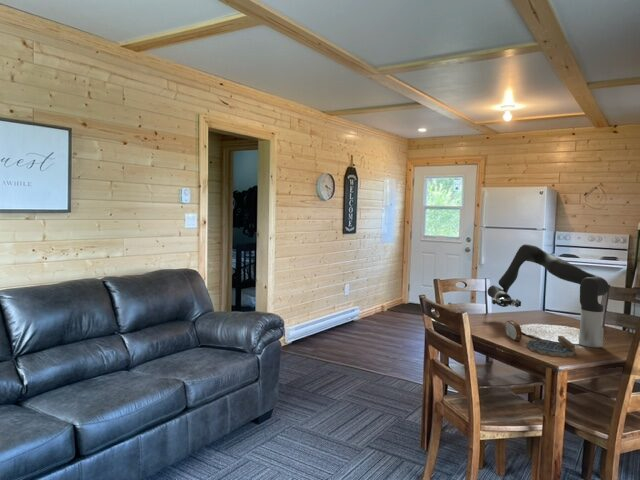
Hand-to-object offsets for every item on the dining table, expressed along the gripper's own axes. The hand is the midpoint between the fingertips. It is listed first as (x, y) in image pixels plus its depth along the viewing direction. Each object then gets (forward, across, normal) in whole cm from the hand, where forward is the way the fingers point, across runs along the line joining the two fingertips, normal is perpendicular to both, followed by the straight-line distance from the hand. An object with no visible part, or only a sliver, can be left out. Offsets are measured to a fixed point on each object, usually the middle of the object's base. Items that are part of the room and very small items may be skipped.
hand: (509, 304), depth 245 cm
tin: (+12, 0, +15) cm, 19 cm away
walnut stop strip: (+26, +20, +12) cm, 35 cm away
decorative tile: (+28, +13, +15) cm, 35 cm away
